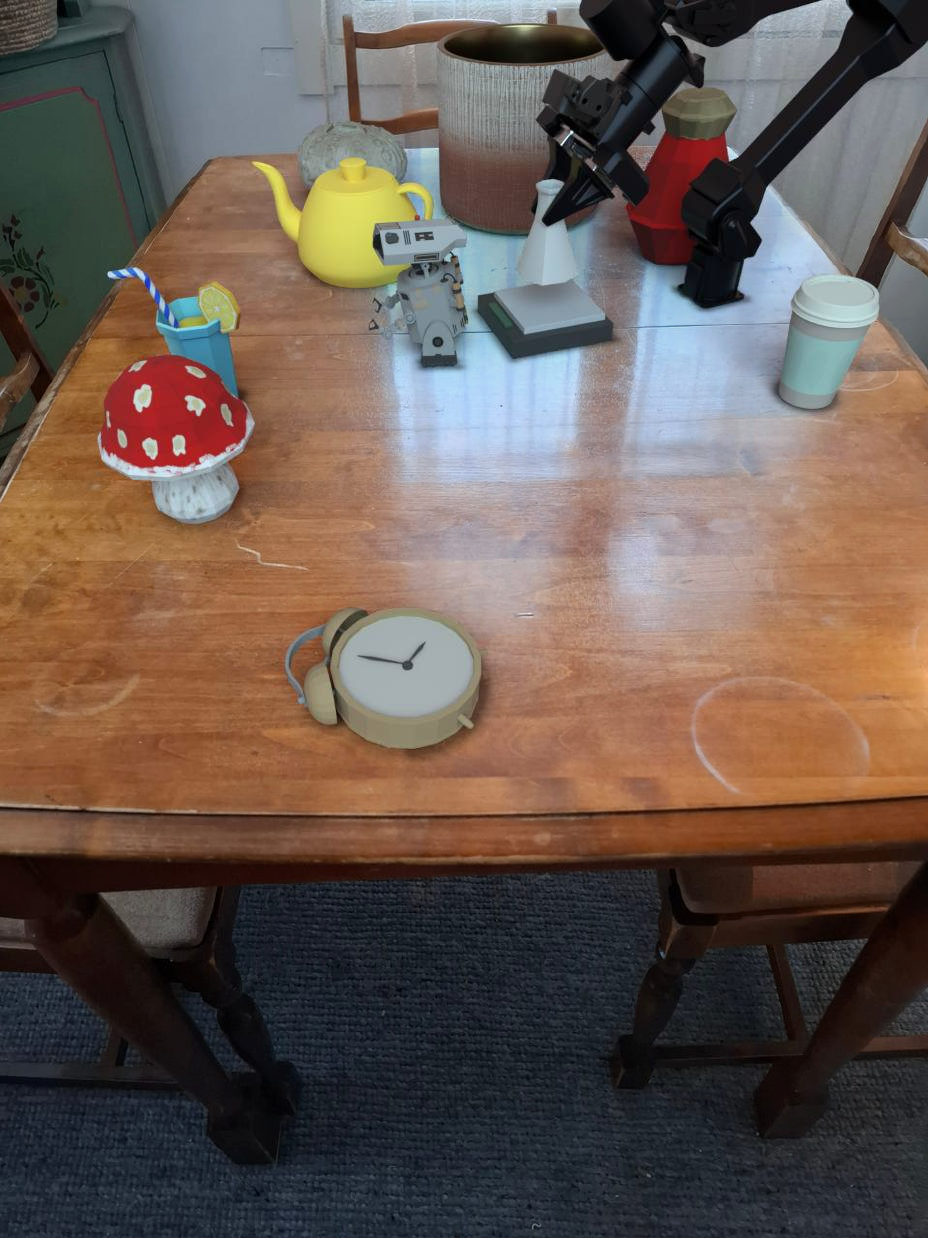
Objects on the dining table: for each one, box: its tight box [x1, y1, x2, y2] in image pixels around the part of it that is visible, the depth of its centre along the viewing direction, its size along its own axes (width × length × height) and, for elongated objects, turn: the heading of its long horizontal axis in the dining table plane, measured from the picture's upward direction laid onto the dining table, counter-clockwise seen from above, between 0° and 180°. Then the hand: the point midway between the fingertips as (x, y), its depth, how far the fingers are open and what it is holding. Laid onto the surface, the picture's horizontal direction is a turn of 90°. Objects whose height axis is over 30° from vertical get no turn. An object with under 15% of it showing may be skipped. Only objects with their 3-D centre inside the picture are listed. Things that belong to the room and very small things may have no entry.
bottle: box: [624, 86, 739, 267], centre depth 108 cm, size 16×14×20 cm
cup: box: [107, 266, 242, 399], centre depth 85 cm, size 14×8×15 cm, turn 80°
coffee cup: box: [778, 273, 880, 410], centre depth 85 cm, size 8×8×12 cm
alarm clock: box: [284, 606, 489, 750], centre depth 61 cm, size 11×5×15 cm
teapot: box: [251, 157, 435, 289], centre depth 109 cm, size 25×18×14 cm
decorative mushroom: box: [97, 354, 256, 525], centre depth 72 cm, size 14×14×15 cm
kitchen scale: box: [477, 278, 614, 360], centre depth 100 cm, size 13×13×3 cm
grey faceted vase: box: [515, 179, 580, 286], centre depth 92 cm, size 7×7×10 cm
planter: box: [435, 22, 614, 236], centre depth 120 cm, size 25×25×22 cm
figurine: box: [368, 214, 469, 368], centre depth 92 cm, size 9×12×15 cm
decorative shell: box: [296, 119, 409, 192], centre depth 130 cm, size 18×18×10 cm
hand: (538, 218), depth 91 cm, fingers closed on grey faceted vase, 3 cm apart
